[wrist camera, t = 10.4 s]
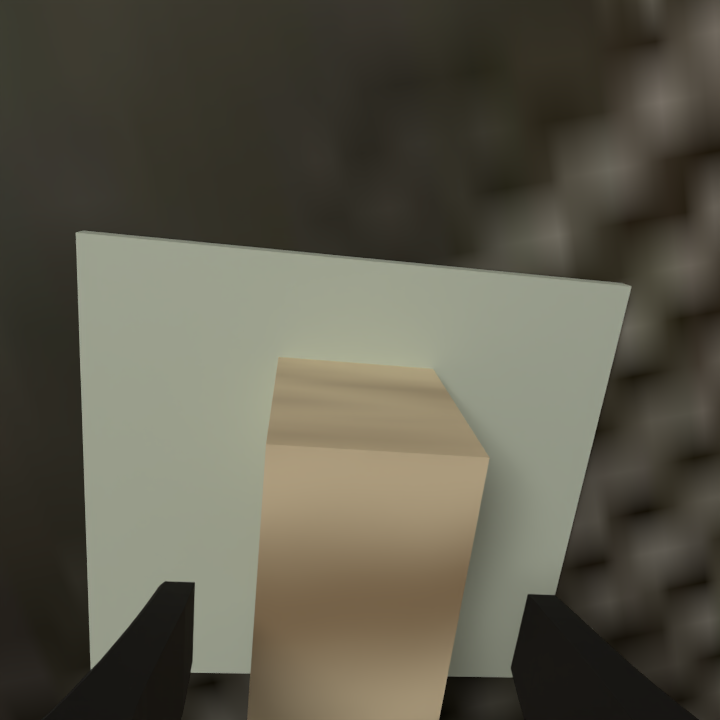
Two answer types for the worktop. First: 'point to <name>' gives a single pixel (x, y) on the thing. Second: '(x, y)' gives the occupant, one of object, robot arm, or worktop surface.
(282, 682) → the birch block
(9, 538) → the worktop surface
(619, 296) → the rubber mat
